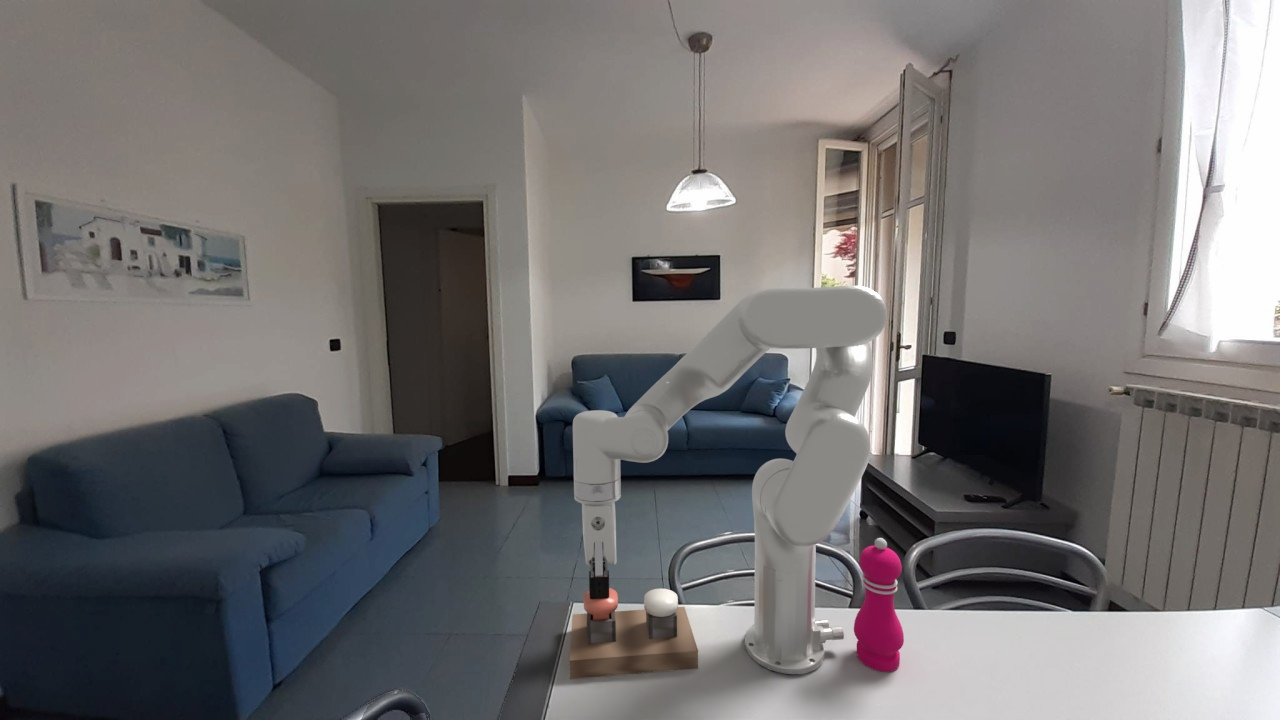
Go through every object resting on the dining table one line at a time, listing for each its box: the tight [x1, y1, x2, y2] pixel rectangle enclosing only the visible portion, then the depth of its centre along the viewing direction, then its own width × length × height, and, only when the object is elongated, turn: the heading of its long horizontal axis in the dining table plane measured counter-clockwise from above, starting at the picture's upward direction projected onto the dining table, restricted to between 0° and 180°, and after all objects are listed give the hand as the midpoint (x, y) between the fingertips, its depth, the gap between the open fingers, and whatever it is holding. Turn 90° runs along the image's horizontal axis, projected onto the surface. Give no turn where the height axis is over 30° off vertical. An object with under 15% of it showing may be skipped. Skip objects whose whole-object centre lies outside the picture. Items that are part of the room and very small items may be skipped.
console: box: [568, 606, 699, 680], centre depth 84 cm, size 20×12×6 cm, turn 95°
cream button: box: [643, 588, 679, 617], centre depth 84 cm, size 6×6×5 cm
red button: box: [583, 587, 619, 620], centre depth 83 cm, size 6×6×5 cm
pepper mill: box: [853, 537, 905, 673], centre depth 80 cm, size 7×7×20 cm
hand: (599, 596), depth 83 cm, fingers closed
